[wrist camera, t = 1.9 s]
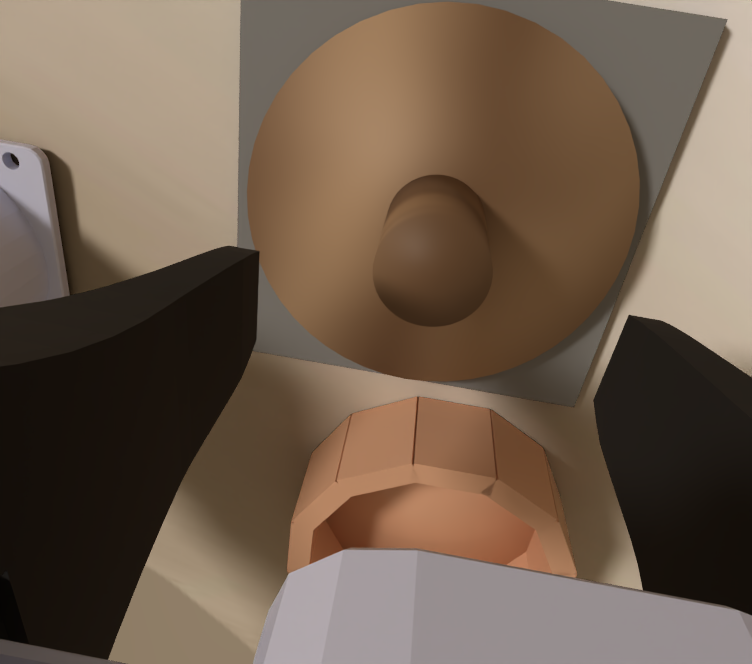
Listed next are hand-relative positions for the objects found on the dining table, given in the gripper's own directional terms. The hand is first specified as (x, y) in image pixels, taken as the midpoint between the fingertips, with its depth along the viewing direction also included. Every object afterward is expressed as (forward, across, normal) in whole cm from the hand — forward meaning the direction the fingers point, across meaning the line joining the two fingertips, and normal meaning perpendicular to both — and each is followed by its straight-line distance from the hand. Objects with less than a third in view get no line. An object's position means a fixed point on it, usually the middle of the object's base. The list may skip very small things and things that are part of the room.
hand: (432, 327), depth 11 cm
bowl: (+7, -2, +12) cm, 14 cm away
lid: (+7, 0, 0) cm, 7 cm away
